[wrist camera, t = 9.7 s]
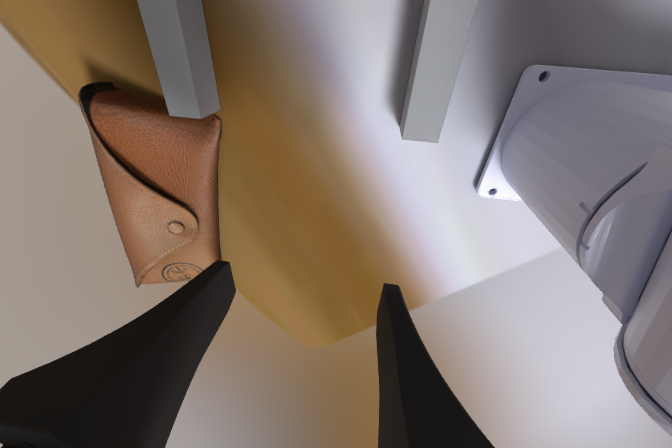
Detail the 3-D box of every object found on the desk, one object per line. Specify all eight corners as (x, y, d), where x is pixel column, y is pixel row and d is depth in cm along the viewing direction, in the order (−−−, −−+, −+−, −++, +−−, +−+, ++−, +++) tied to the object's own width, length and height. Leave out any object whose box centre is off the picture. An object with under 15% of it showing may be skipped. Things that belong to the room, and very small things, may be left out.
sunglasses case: (229, 285, 29) (163, 324, 24) (192, 249, 32) (126, 278, 27) (223, 109, 18) (104, 118, 14) (169, 80, 21) (54, 78, 16)
